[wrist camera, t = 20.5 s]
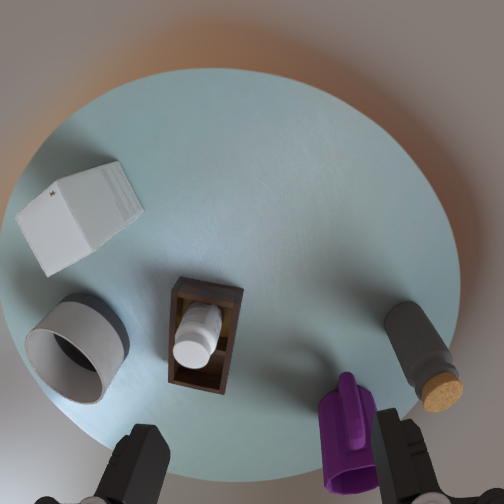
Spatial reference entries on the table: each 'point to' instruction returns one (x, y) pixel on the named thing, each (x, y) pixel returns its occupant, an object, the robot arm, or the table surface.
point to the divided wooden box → (219, 362)
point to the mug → (347, 438)
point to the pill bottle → (198, 334)
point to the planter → (78, 348)
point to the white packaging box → (78, 215)
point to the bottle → (423, 357)
